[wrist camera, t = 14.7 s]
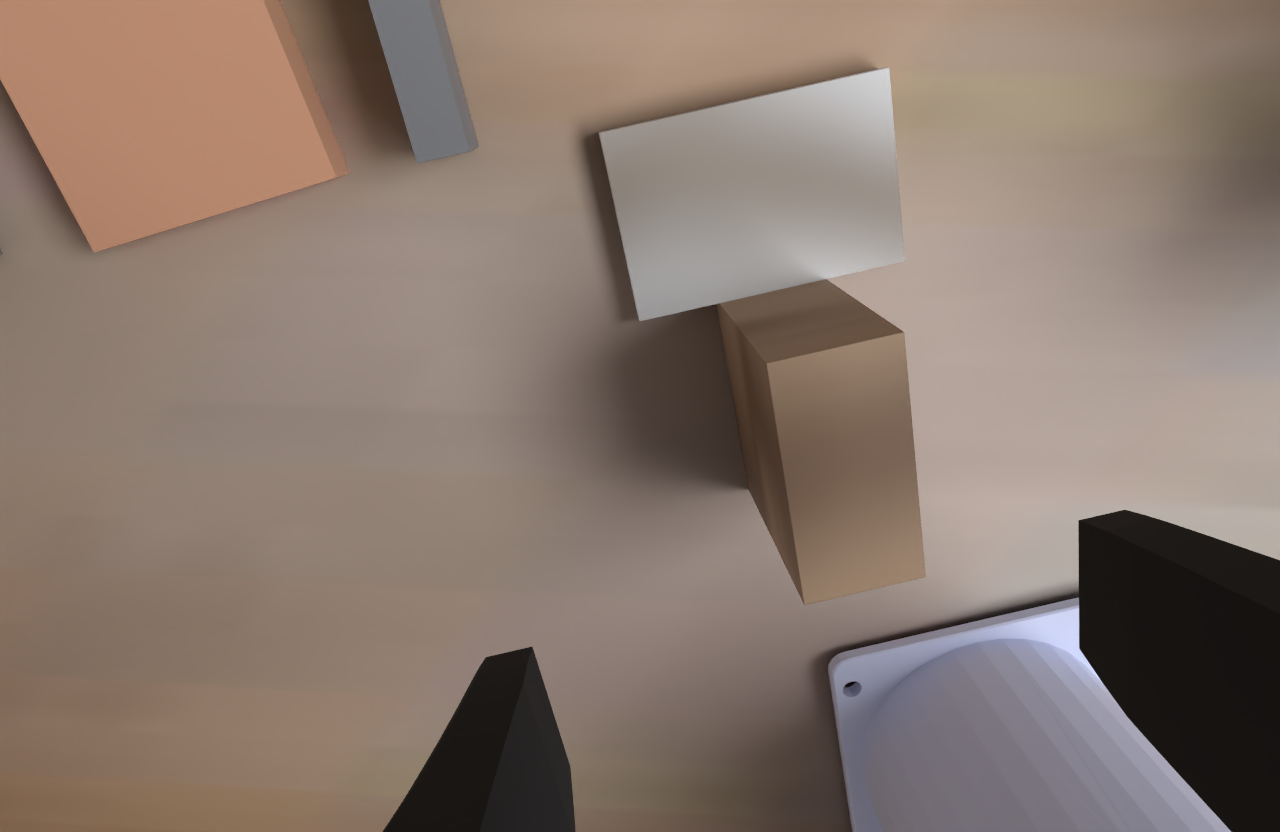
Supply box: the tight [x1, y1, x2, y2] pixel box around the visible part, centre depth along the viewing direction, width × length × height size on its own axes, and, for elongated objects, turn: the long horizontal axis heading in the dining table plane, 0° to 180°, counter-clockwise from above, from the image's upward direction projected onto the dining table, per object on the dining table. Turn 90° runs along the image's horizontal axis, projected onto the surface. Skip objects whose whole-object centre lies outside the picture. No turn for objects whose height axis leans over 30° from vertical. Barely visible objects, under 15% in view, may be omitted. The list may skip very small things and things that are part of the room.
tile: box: [0, 0, 350, 252], centre depth 16 cm, size 5×5×2 cm
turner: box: [598, 68, 926, 605], centre depth 16 cm, size 9×6×5 cm, turn 12°
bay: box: [0, 0, 478, 254], centre depth 15 cm, size 7×11×2 cm, turn 102°
